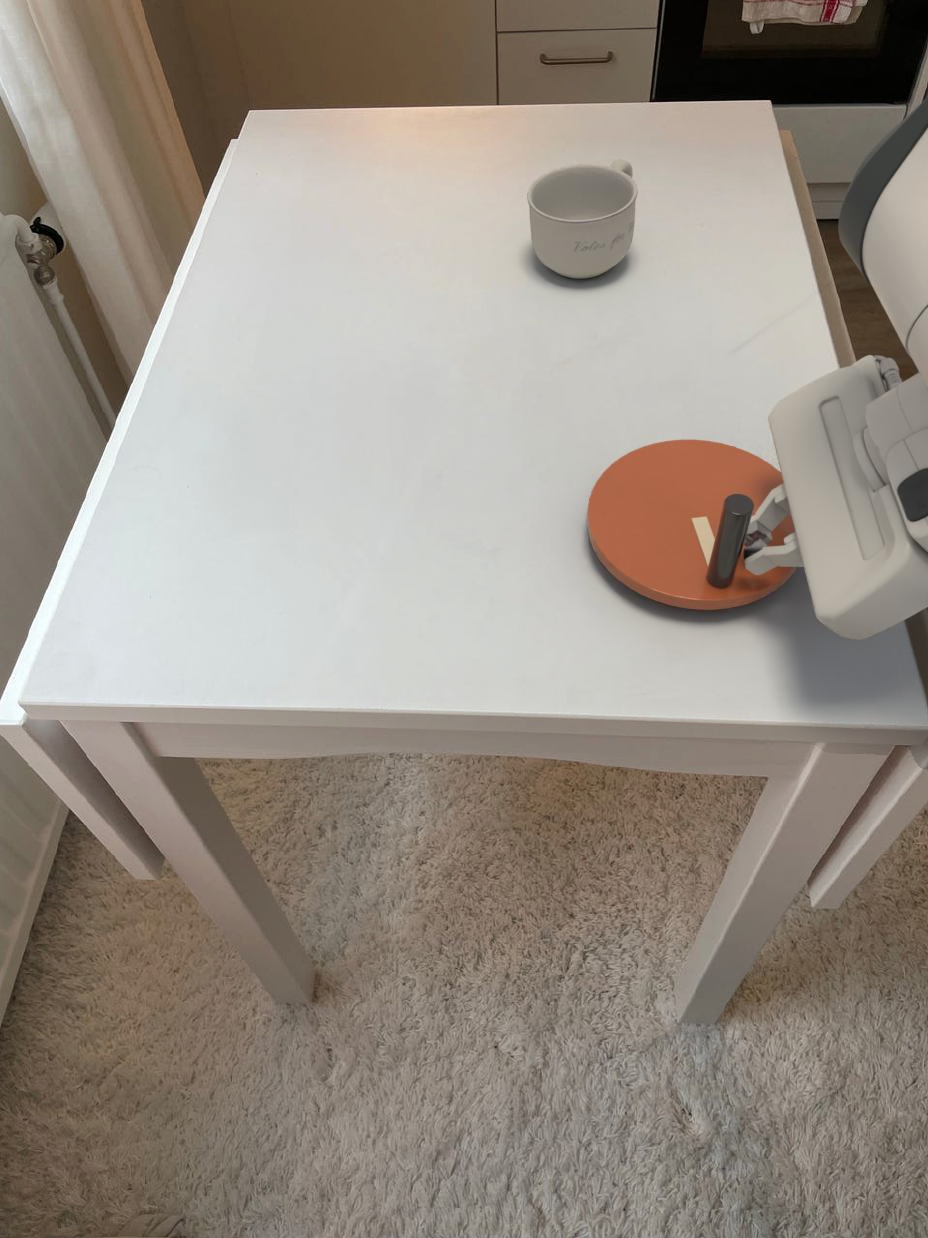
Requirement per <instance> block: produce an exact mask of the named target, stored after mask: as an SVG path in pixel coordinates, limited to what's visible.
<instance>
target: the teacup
mask: <svg viewBox="0 0 928 1238" xmlns="http://www.w3.org/2000/svg"><path fill="white" fill-rule="evenodd" d="M633 176H634V172H633V167H632V164H631V163H630V162H629V161H628V160H625V159H616V160H614V161H613V162H612V163H611V164H610V165H609V166H607V165H603V164H592V163H591V164H590V163H589V164H588V163H586V164H585V163H583V164H582V163H581V164H573V165H568V166H563V167H559V168H556V169H553V170H550V171H548V172H546V173H544V174H542V175H540V176H539V177H538V178H536V180H535V181H533V183H531V185H530V186H529V188H528V191H527V193H526V199H527V204H528V210H529V212H528V213H529V228H530V236H531V237H530V238H531V243H532V248H533V251H534V253H535V255H536V257H537V258H538V260H539V261H540V262H541V263H542V264H543V265H544V266H545V267H547V268H548V269H550V270H552V271H554V272H555V273H556V274H558V275H560V276H563V277H567V278H570V279H589V278H594V277H597V276H600V275H602V274H604V273H606V272H608V271H609V270H611V268H613V267H615V266H616V265H617V264H619V263H620V262H621V261H622V260H623V259H624V258H625V257H626V255H627V254H628V253H629V250H630V249H631V246H632V243H633V238H634V231H635V220H636V200H637V197H638V193H639V191H638V187H637V186H638V185H637V183H636V181H635V180H634V179H633Z"/></svg>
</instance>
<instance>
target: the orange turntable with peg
mask: <svg viewBox="0 0 928 1238" xmlns="http://www.w3.org/2000/svg"><path fill="white" fill-rule="evenodd" d="M781 484H783V479H782V475H781V470H780V469H779V470H778V468H776V467H775V466H774V465H772V464H771V463H769V462H768V461H766V460H764V459H763V458H761V457H760V456H758V455H755V454H753V453H751V452H750V451H747V450H745V449H742V448H739V447H737V446H734V445H731V444H730V445H729V444H726V443H722V442H717V441H712V440H706V439H705V440H703V439H673V440H664V441H660V442H659V441H658V442H654V443H650V444H648V445H644V446H642V447H638V448H636V449H634V450H632V451H630V452H627V453H626V454H624V455H622V456H621V457H619V458H618V459H617V460H615V461H614V462H613V463H611V464H610V465H609V466H608V467H607V468H606V469H605V470H604V471H603V473H602V474H600V476H599V477H598V479H597V480H596V482H595V484H594V485H593V488H592V489H591V493H590V495H589V499H588V504H587V514H586V528H587V533H588V534H587V535H588V538H589V542H590V544H591V546H592V549H593V551H594V553H595V554H596V556H597V558H598V559H599V561H600V562H601V564H602V565H603V566H604V567H605V569H606V570H607V571H608V572H609V573H610V574H611V575H612V576H613V577H614V578H615V579H616V580H618V581H619V582H621V583H622V584H623V585H624V586H626V587H627V588H629V589H631V590H632V591H634V592H636V593H637V594H639V595H641V596H643V597H646V598H648V599H650V600H653V601H655V602H658V603H662V604H665V605H668V606H673V607H677V608H681V609H687V610H688V609H690V610H699V611H700V610H701V611H703V610H704V611H710V610H712V611H714V610H725V609H726V610H727V609H731V608H736V607H737V608H738V607H742V606H745V605H748V604H751V603H753V602H756V601H759V600H761V599H763V598H765V597H767V596H769V595H771V594H772V593H774V592H775V591H776V590H778V589H780V588H781V587H782V586H783V585H784V584H785V583H786V582H787V581H789V579H790V578H791V577H792V576H793V574H795V572H796V570H797V569H798V567H779V566H777V567H775V568H773V569H771V570H769V571H767V572H765V573H763V574H762V575H754V574H753V573H751V572H750V571H749V570H747V569H746V568H745V563H744V558H743V549H744V548H746V546H745V545H744V541H745V538H746V534H747V531H748V527H749V524H750V520H751V517H752V516H754V515H755V513H756V511H757V510H758V508H759V507H760V506H761V504H762V503H763V502H764V500H765V499H766V497H767V496H768V495H769V493H770V492H771V490H773V489H774V488H776V487H778V486H779V485H781ZM794 532H795V528H794V524H793V520H792V516H791V515H790V514H787V516H786V517H785V518H784V519H783V520H782V521H781V522H780V523H779V524H778V525H777V527H776V528H775V529H774V530H773V531H772V532H771V533H772V539H773V541H771V542H769V543H767V545H768V546H770V547H772V546H783V545H786V544H784V538H785V537H787V536H789V535H790V534H792V533H794Z"/></svg>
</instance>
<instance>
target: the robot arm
mask: <svg viewBox="0 0 928 1238" xmlns="http://www.w3.org/2000/svg"><path fill="white" fill-rule="evenodd" d="M837 224H838V225H837V226H838V227H837V230H838V237H839V240H840V244H841V245H842V247H843V248H844V250H845V251H846V253H847V254H848V256H849V257H850V259H851V260H852V261H853V263H854V265H855V266H856V268H857V269H858V270H859V271H860V274H861V275H862V277H864V280H865V282H867V284H868V285H869V286H870V287H871V288H872V289H873V291H874V293H875V294H876V296H877V299H878V300H879V302H880V304H881V306H882V308H883V309H884V311H885V313H886V315H887V317H888V319H889V321H890V323H891V325H892V327H893V329H894V331H895V333H896V334H897V337H898V338H899V340H900V342H901V344H902V346H903V348H904V350H905V352H906V353H907V355H908V356H909V357H910V358H911V360H912V362H913V363H914V365H915V367H916V370H917V371H918V372H917V373H915V374H914V375H912V376H911V377H909V378H907V379H906V380H904V381H903V380H902V378H901V376H900V369H899V366H898V364H897V362H896V361H895V360H894V359H893V358H891V357H886V356H883V355H879V354H878V355H877V354H875V355H873V354H868V355H866V356H863V357H861V358H860V359H858V360H857V361H855V362H854V363H852V364H851V365H850V366H844V367H840V368H838V369H835V370H833V371H830V372H828V373H825V374H824V375H823V376H821V377H818V378H816V379H815V380H813V381H811V382H809V383H807V384H805V385H803V386H801V387H800V388H798V389H796V390H795V391H792V392H791V393H789V394H788V395H786V396H785V397H783V398H782V399H780V400H779V401H778V402H777V403H776V404H775V405H774V407H773V408H772V410H771V412H770V413H769V415H768V416H767V420H768V425H769V429H770V433H771V437H772V442H773V446H774V449H775V453H776V458H777V462H778V466H779V471H780V472H781V475H782V479H783V484H781V485H779V486H778V487H776V488H774V489H773V490H771V492H770V493H769V495H768V496H767V497H766V499H765V500H764V502H763V503H762V504H761V506H760V507H759V508H758V510H757V511H756V513H755V515H754V516H752V517H751V520H750V524H749V527H748V531H747V534H746V538H745V541H744V545H745V546H746V548H744V549H743V558H744V563H745V568H746V569H747V570H749V571H750V572H751V573H753V574H754V575H762V574H763V573H765V572H767V571H769V570H771V569H773V568H775V567H777V566H779V567H797V568H803V569H804V573H805V578H806V581H807V586H808V589H809V590H808V591H809V594H810V598H811V602H812V607H813V611H814V614H815V617H816V619H817V620H818V621H819V622H820V623H821V624H822V625H823V626H825V627H827V628H828V629H829V630H830V631H832V632H834V633H835V634H837V635H838V636H840V637H842V638H846V639H850V640H857V641H858V640H864V639H867V638H870V637H872V636H874V635H876V634H877V635H878V634H879V633H881V632H883V631H886V630H887V629H890V628H891V627H894V626H895V625H897V624H899V623H901V622H903V621H905V620H908V619H909V618H911V617H913V616H915V615H916V614H918V613H920V612H922V611H923V610H925V609H926V608H928V96H926V98H924V99H923V101H922V102H921V103H920V104H918V106H916V108H914V109H913V110H912V111H911V112H909V114H908V115H907V116H905V117H904V118H903V119H902V120H901V121H900V122H899V123H898V124H897V125H895V126H894V127H893V128H892V129H891V130H890V131H889V132H888V133H887V134H886V135H885V136H884V137H883V138H882V139H881V140H880V141H879V142H878V143H877V144H876V145H875V146H874V147H873V148H872V149H871V150H870V152H869V153H868V155H866V157H865V158H864V159H863V161H862V163H861V164H860V165H859V167H858V168H857V170H856V172H855V174H854V175H853V178H852V180H851V181H850V183H849V186H848V188H847V191H846V192H845V195H844V199H843V201H842V205H841V207H840V211H839V217H838V223H837ZM787 514H790V515H791V516H792V520H793V524H794V528H795V532H794V533H792V534H790V535H789V536H787V537H785V538H784V544H786V545H783V546H772V547H770V546H768V545H767V543H769V542H771V541H773V539H772V533H771V532H772V531H773V530H774V529H775V528H776V527H777V525H778V524H779V523H780V522H781V521H782V520H783V519H784V518H785V517H786V516H787Z"/></svg>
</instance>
